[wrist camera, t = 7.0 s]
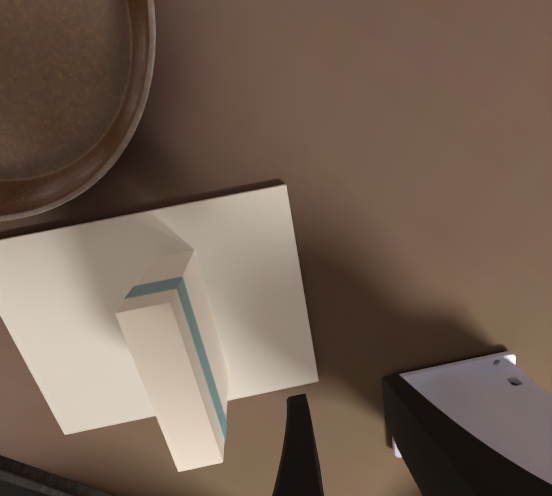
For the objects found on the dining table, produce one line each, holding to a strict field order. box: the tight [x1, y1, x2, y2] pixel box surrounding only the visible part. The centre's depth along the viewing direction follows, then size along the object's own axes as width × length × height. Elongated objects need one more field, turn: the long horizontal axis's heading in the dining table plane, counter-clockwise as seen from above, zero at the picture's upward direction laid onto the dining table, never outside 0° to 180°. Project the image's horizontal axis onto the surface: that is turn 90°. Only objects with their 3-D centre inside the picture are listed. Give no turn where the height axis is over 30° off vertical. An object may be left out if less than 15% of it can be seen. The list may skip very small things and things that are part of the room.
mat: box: [0, 184, 319, 435], centre depth 20 cm, size 18×14×1 cm
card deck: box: [115, 250, 229, 472], centre depth 17 cm, size 2×9×6 cm, turn 10°
